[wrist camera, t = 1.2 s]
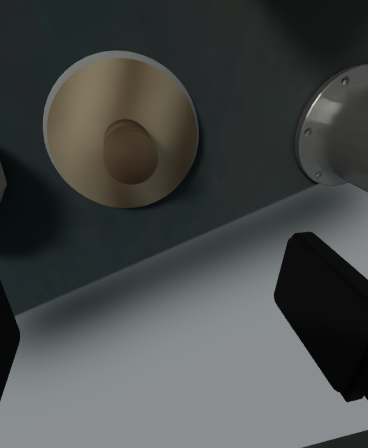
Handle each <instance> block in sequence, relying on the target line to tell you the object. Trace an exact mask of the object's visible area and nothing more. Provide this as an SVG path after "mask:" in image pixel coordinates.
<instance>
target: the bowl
mask: <svg viewBox="0 0 368 448" xmlns="http://www.w3.org/2000/svg"><path fill="white" fill-rule="evenodd" d="M6 186H7V182H6V178H5V175H4V172H3V168H2V165H1V162H0V202H1V199H2V197H3V194H4V191H5V189H6Z"/></svg>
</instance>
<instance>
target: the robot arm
mask: <svg viewBox="0 0 368 448" xmlns="http://www.w3.org/2000/svg"><path fill="white" fill-rule="evenodd" d="M295 155H296V159H297V162H298V165H299V167H300V168H301V170H302V172H303V173H304V174H305V175H306V176H307V177H309V178H310V179H312V180H313V181H315V182H317V183H320V184H322V185H329V186H334V185H341V184H345V183H348V182H349V183H351V184H353V185H355V186H357V187H359V188H361V189H362V190H364V191H367V192H368V64H361V65H356V66H351V67H349V68H347V69H344V70H342V71H340V72H338V73H337V74H335V75H334V76H332V77H331V78H329V79H328V80H327V81H326V82H325V83H324V84H323V85H322V86H321V87H320V88H319V89H318V90H317V91H316V93H315V94H314V95H313V96H312V98H311V99H310V101H309V102H308V104H307V106H306V107H305V109H304V111H303V113H302V116H301V118H300V120H299V123H298V127H297V131H296V136H295ZM274 300H275V302H276V304H277V306H278V307H279V309H280V310H281V312H282V313H283V315H284V316H285V318H286V319H287V321H288V322H289V323H290V325H291V327H292V328H293V330H294V331H295V333H296V334H297V336H298V337H299V338H300V340H301V341H302V343H303V344H304V346H305V347H306V349H307V350H308V352H309V353H310V355H311V356H312V358H313V359H314V361H315V362H316V364H317V365H318V367H319V368H320V370H321V371H322V373H323V374H324V375H325V377H326V378H327V380H328V382H329V383H330V384H331V386H332V387H333V388H334V390H336V391H337V392H340V393H341V395H342V396H343V398H344V399H345V401H346V402H350V401H354V400H358V399H362V398H363V396H365V397H366V399H367V400H368V280H367V279H366V278H365V277H364V276H363V275H362V274H360V273H359V272H358V271H357V270H356V269H355V268H354V267H352V266H351V265H350V264H349V263H348V262H347V261H345V260H344V259H343V258H342V257H341V256H340V255H338V254H337V253H336V252H335V251H334V250H333V249H331V248H330V247H329V246H328V245H327V244H326V243H324V242H323V241H322V240H321V239H320V238H319V237H317V236H316V235H315V234H314V233H312V232H302V233H295V234H294V235H293V236H292V238H290V239H289V240H288V242H287V247H286V250H285V254H284V258H283V261H282V265H281V269H280V273H279V277H278V281H277V285H276V288H275V292H274ZM19 341H20V331H19V328H18V326H17V323H16V320H15V317H14V315H13V312H12V310H11V307H10V304H9V302H8V299H7V296H6V294H5V291H4V289H3V286H2V283H1V281H0V400H1V397H2V394H3V391H4V388H5V385H6V382H7V379H8V375H9V373H10V369H11V367H12V363H13V360H14V357H15V354H16V351H17V348H18V345H19ZM303 448H368V430H366V431H363V432H359V433H355V434H351V435H348V436H344V437H340V438H336V439H333V440H329V441H325V442H321V443H318V444H314V445H310V446H307V447H303Z"/></svg>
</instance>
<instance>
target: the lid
mask: <svg viewBox="0 0 368 448" xmlns="http://www.w3.org/2000/svg"><path fill="white" fill-rule="evenodd" d="M47 138H48V145H49V148H50V152H51V155H52V158H53V160H54V162H55V165H56V166H57V168H58V170H59V171H60V173H61V174H62V176H63V177H64V178H65V179H66V181H67V182H68V183H69V184H70V185H71V186H72V187H73V188H74V189H76V190H77V191H78V192H79V193H81V194H82V195H84V196H85V197H87V198H89V199H91V200H93V201H95V202H97V203H100V204H103V205H106V206H111V207H117V208H135V207H141V206H145V205H149V204H151V203H154V202H156V201H158V200H160V199H162V198H164V197H165V196H167V195H168V194H170V193H171V192H172V191H173V190H174V189H175V188H177V186H178V185H179V184H180V183H181V182H182V181H183V179H184V178H185V176H186V175H187V173H188V171H189V169H190V167H191V165H192V162H193V160H194V157H195V152H196V147H197V127H196V121H195V117H194V113H193V110H192V108H191V105H190V103H189V101H188V100H187V98H186V96H185V94H184V93H183V92H182V90H181V89H180V88H179V86H178V85H177V84H176V83H175V82H174V81H173V80H172V79H171V78H170V77H169V76H167V75H166V74H165V73H164V72H162V71H160V70H159V69H157V68H155V67H154V66H151V65H149V64H147V63H144V62H141V61H138V60H134V59H127V58H109V59H104V60H99V61H96V62H93V63H90V64H88V65H86V66H84V67H82V68H80V69H79V70H77V71H76V72H75V73H73V74H72V75H71V76H70V77H69V78H68V79H67V80H66V81H65V82H64V83H63V84H62V86H61V87H60V89H59V90H58V91H57V93H56V95H55V97H54V99H53V101H52V104H51V107H50V110H49V114H48V121H47Z"/></svg>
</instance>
